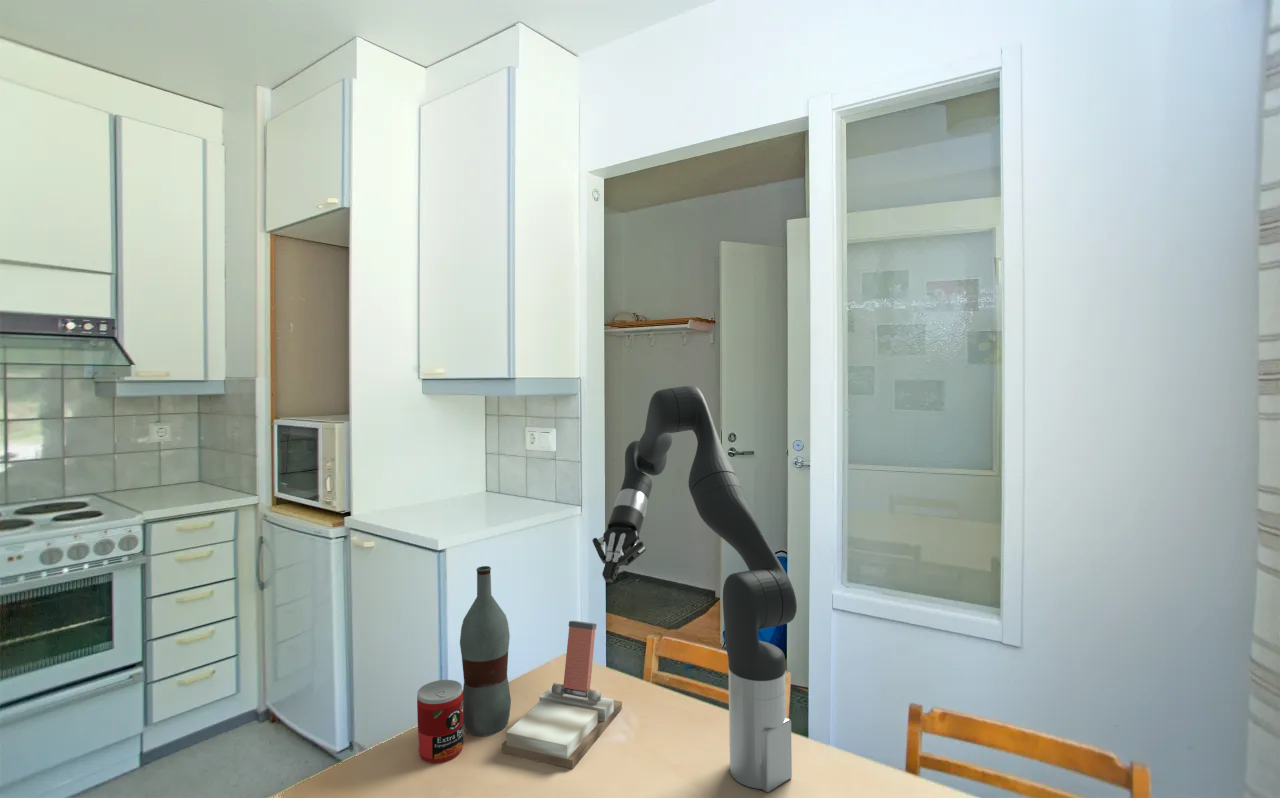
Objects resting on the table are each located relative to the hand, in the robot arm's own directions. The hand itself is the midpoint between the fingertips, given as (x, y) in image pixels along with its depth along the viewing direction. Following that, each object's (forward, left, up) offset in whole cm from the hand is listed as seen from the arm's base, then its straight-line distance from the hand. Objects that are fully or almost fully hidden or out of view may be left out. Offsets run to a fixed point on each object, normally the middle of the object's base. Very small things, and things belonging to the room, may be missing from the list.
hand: (607, 580), depth 136 cm
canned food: (-2, +38, -22) cm, 44 cm away
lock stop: (-8, +13, -17) cm, 23 cm away
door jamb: (-10, +17, -22) cm, 30 cm away
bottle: (+1, +28, -22) cm, 36 cm away
